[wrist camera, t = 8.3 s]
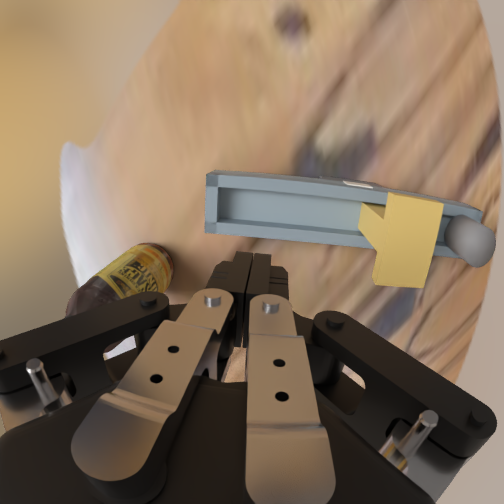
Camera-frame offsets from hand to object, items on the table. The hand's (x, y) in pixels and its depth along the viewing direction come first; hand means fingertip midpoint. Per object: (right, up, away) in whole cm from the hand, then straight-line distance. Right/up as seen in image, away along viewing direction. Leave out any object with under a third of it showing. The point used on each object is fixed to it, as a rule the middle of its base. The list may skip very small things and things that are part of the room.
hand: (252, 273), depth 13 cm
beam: (+10, +6, +17) cm, 21 cm away
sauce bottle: (-12, 0, +22) cm, 25 cm away
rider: (+11, +4, +12) cm, 17 cm away
